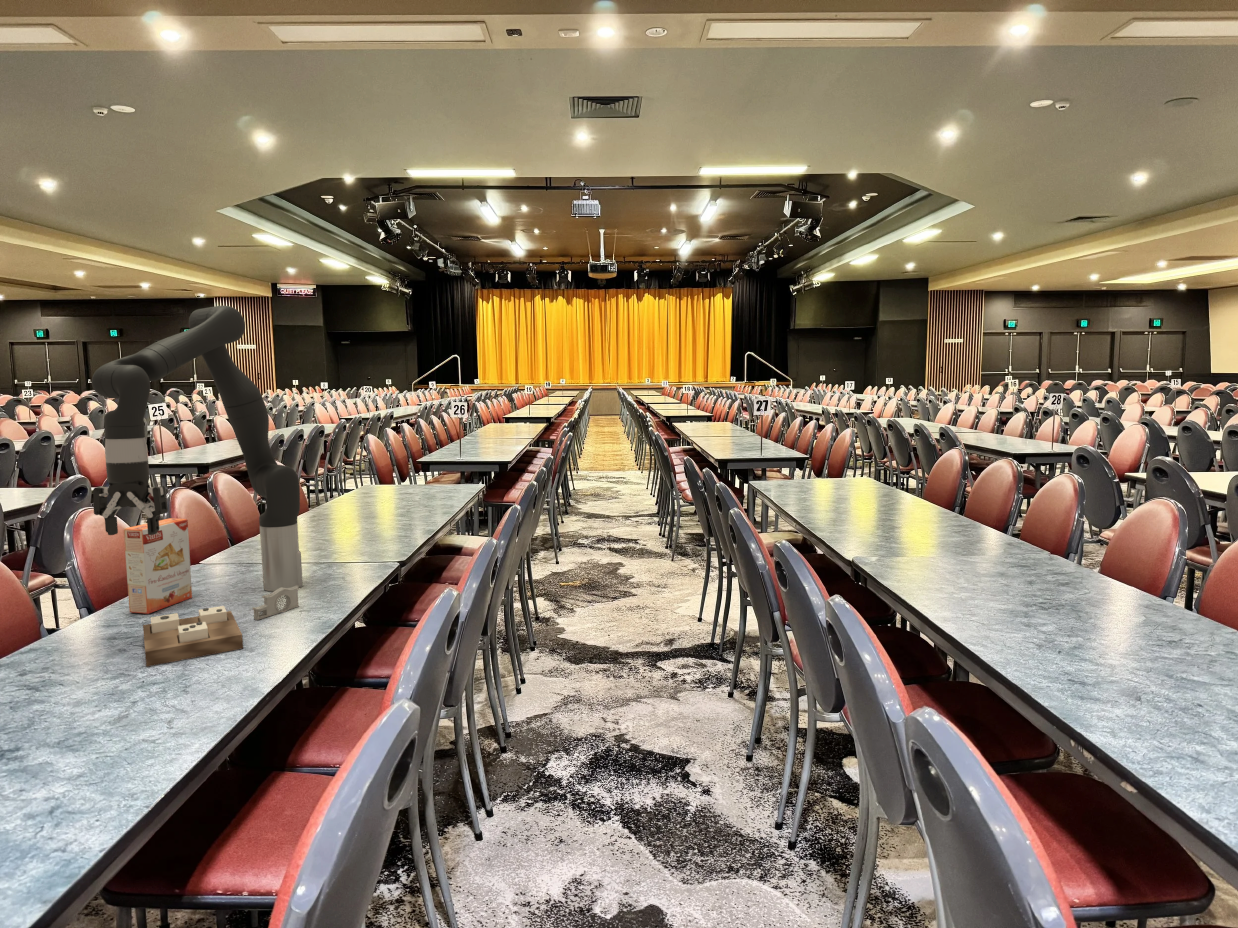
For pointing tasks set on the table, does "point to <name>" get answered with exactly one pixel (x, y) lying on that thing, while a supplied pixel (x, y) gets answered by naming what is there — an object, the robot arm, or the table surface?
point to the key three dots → (192, 632)
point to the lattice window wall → (272, 599)
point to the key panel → (169, 649)
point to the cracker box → (158, 565)
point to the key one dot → (165, 623)
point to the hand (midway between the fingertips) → (132, 534)
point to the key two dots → (213, 615)
